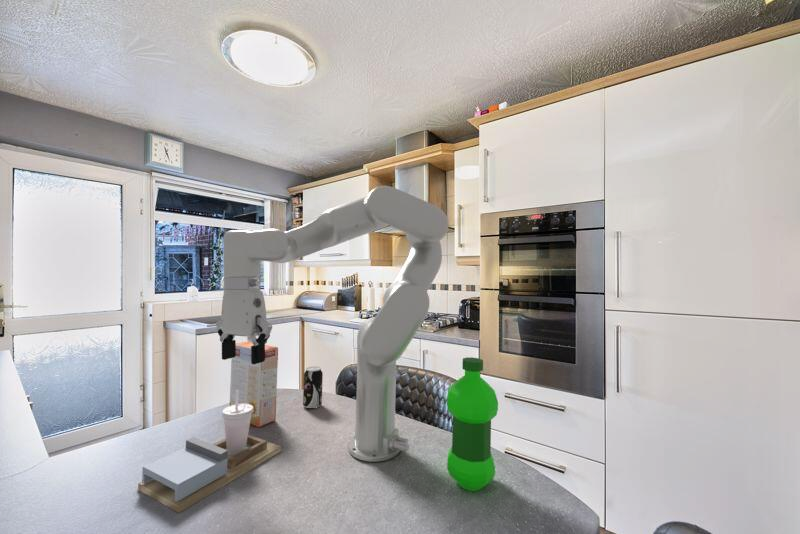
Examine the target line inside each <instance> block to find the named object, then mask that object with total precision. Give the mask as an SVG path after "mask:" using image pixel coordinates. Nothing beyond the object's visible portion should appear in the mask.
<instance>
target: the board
mask: <svg viewBox="0 0 800 534" xmlns="http://www.w3.org/2000/svg"><path fill="white" fill-rule="evenodd" d="M213 445H215V446H218V447H220V448H223V449H225V450H227V446H226V437H225V438H223V439H220V440H219V441H217V442H215V443H213ZM281 449H282V446H281V445H279V444H275V443H273V442H270V441H267V440H266V439H263V438H260V437H256V436H254V435H252V434H249V433H248V438H247V444H246V450H244V451H242V452H240V453H238V454H237V455H235V456H229V455H228V461H227V473H226V474H225V475H223V476H221V477H219V478H218V479H216V480H214V481H213V482H211V483H209V484H207V485H206V486H204V487H202V488H200V489H199V490H197V491H195V492H193V493H192V494H190V495H188V496H186V497H185V498H183V499H181V500H179V501H178V502H176V501H175V490H174V489H172V488H170V487H168V486H166V485H164V484H162V483H161V482H159V481H157V480H155V479H153V480H151V481H148V482H146V483H142V481H140V482H138V485H137V489H138V491H140V492H141V493H143V494H144V495H147V496H148V497H150V498H152V499H154V500H155V501H157V502H159V503H161V504H162V505H164V506H166V507H168V508H169V509H170V510H173V511H174V512H176V513H178V514H179V513H182V511H185V510H186V509H187V508H190V507H191V506H193V505H194V504H196V503H197V502H199V501H201V500H203V499H204V498H206V497H207V496H209V495H211V494H212V493H214V492H216V491H218V490H219V489H221V488H223V487H224V486H225V485H227V484H229V483H230V482H232V481H234V480H236V479H238V478H239V477H240V476H242V475H244V474H246V473H248V472H249V471H250V470H252V469H253V468H256V467H257V466H258V465H261V464H262V463H263V462H266V461H267V460H269V459H270V458H272V457H273V456H276V455H277V454H279V453H280V452H282V451H281Z"/></svg>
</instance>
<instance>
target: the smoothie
mask: <svg viewBox="0 0 800 534" xmlns="http://www.w3.org/2000/svg"><path fill="white" fill-rule="evenodd" d="M238 395H239V390H236V402H235V405H231V406H230V405H229V406H226V407H225V408H224V409H222V411H221V412H222V414H221V417H222V418H223V422H224V424H223V425H224V434H225V438H226V446H227V450H228V455H229V456H235V455H237V454H238V453H240V452H242V451H244V450H246V444H247V438H248V434H249V431H250V426H251V424H250V420H251V414H252V413H253V406H252V405H250V404H238Z"/></svg>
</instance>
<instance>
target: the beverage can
mask: <svg viewBox="0 0 800 534" xmlns="http://www.w3.org/2000/svg"><path fill="white" fill-rule="evenodd" d="M302 394H303V396H302V397H303V398H302V406H303V407H304V408H305V409H307V408H315V409H317V408H316V407H318V408H319V407H320V406H322V404H323V402H322V401H323V371H322V368H321V367H320V366H309V367H306V368H305V371H304V373H303V393H302Z"/></svg>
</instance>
